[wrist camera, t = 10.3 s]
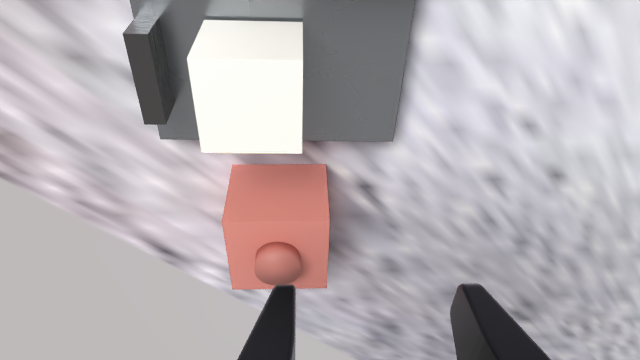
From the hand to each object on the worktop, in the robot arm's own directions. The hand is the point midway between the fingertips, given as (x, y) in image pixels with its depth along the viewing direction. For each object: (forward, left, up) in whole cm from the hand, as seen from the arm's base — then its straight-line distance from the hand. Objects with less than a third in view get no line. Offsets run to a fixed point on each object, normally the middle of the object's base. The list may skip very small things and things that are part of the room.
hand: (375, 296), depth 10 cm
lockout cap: (+3, +8, -12) cm, 15 cm away
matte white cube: (+3, 0, -11) cm, 11 cm away
